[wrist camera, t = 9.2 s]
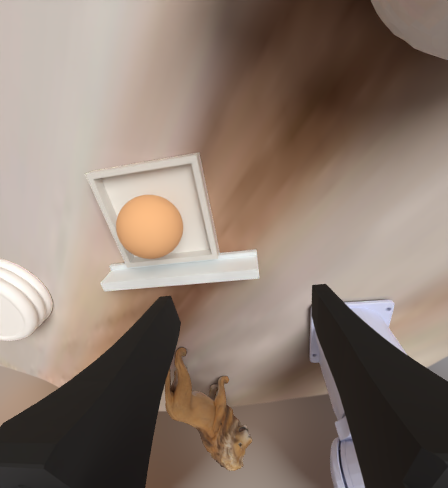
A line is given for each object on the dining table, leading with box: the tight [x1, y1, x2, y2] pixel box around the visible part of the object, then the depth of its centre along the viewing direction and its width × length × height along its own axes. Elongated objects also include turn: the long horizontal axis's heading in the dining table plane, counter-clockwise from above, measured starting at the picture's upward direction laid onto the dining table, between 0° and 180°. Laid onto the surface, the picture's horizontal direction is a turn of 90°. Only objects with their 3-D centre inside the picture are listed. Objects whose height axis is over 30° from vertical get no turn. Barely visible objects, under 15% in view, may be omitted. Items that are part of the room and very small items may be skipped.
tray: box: [85, 152, 220, 268], centre depth 20 cm, size 9×9×1 cm
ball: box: [116, 195, 183, 259], centre depth 18 cm, size 5×5×5 cm
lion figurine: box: [165, 348, 252, 471], centre depth 28 cm, size 15×5×9 cm, turn 52°
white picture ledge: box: [100, 249, 259, 291], centre depth 22 cm, size 2×15×2 cm, turn 99°
